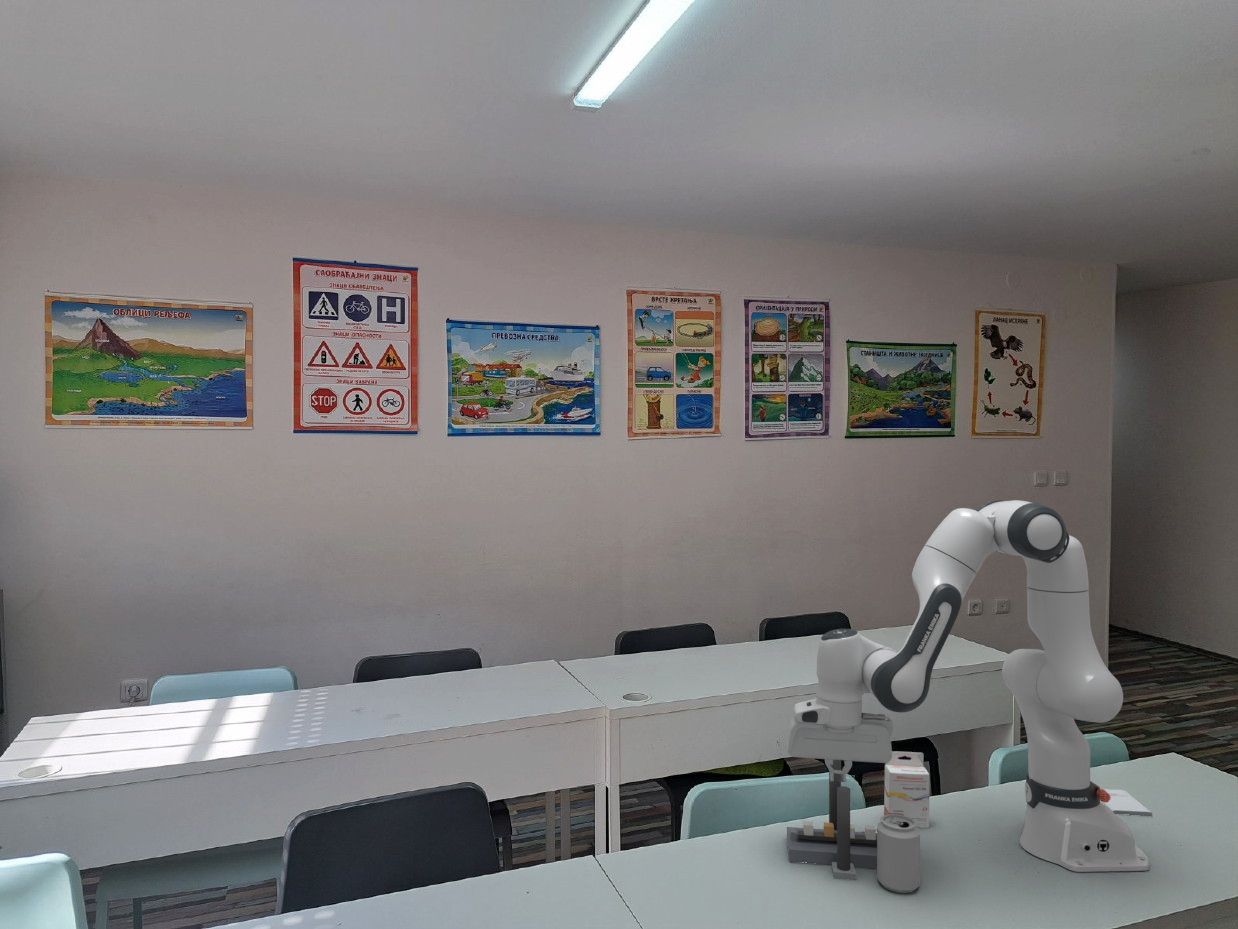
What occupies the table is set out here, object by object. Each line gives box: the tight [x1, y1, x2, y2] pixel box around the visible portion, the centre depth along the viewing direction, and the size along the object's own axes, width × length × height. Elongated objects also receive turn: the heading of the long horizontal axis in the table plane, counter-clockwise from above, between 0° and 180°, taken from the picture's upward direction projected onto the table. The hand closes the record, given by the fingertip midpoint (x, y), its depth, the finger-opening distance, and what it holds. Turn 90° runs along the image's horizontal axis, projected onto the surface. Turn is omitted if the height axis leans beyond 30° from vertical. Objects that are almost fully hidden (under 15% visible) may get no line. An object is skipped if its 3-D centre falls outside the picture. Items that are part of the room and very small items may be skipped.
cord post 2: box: [831, 785, 857, 881], centre depth 155 cm, size 4×4×16 cm
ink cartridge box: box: [883, 750, 931, 829], centre depth 177 cm, size 9×5×15 cm, turn 84°
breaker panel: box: [786, 826, 877, 870], centre depth 163 cm, size 20×10×4 cm, turn 81°
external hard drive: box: [1100, 788, 1153, 818], centre depth 187 cm, size 2×8×12 cm
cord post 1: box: [828, 760, 842, 830], centre depth 171 cm, size 4×4×16 cm
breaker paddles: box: [798, 820, 877, 844], centre depth 163 cm, size 16×2×3 cm, turn 81°
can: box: [876, 814, 921, 894], centre depth 151 cm, size 8×8×12 cm
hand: (838, 780), depth 163 cm, fingers closed
